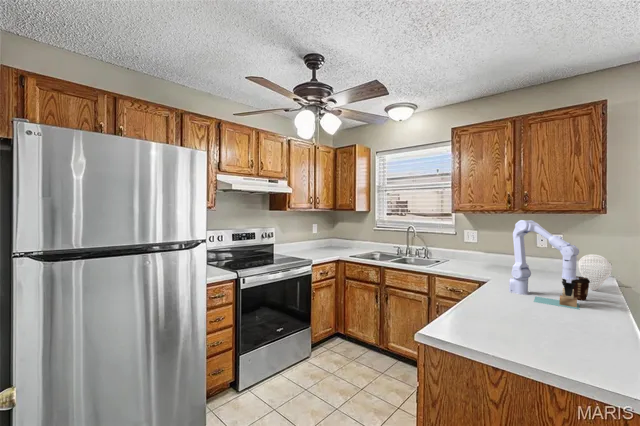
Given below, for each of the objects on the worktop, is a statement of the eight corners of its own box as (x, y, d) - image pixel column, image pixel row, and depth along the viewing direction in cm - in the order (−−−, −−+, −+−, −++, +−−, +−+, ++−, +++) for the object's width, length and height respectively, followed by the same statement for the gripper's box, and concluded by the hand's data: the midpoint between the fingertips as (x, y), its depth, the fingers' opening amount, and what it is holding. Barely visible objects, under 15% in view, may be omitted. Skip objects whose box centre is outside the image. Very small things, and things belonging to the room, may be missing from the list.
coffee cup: (584, 299, 176) (585, 276, 176) (593, 303, 168) (593, 279, 168) (566, 297, 179) (567, 275, 179) (573, 301, 171) (574, 278, 171)
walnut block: (559, 304, 162) (559, 297, 162) (559, 301, 168) (559, 295, 168) (576, 307, 158) (577, 300, 158) (576, 304, 163) (576, 297, 163)
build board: (533, 303, 166) (533, 301, 166) (535, 297, 177) (535, 296, 177) (579, 311, 154) (579, 309, 154) (578, 304, 165) (578, 303, 165)
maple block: (562, 297, 162) (562, 289, 162) (562, 296, 166) (562, 287, 166) (573, 299, 160) (573, 290, 160) (573, 297, 163) (573, 289, 163)
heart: (611, 297, 182) (613, 259, 182) (577, 292, 192) (578, 256, 192) (608, 288, 204) (609, 254, 203) (577, 284, 214) (578, 252, 213)
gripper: (579, 271, 154) (578, 298, 155) (578, 267, 166) (577, 293, 166) (561, 269, 159) (560, 296, 159) (562, 265, 170) (561, 290, 170)
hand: (568, 294), depth 163 cm, fingers open, 7 cm apart
